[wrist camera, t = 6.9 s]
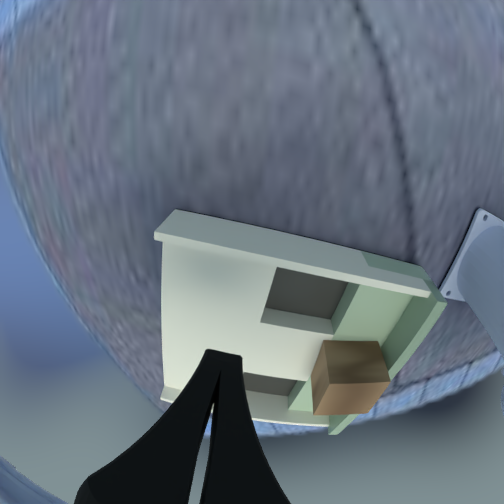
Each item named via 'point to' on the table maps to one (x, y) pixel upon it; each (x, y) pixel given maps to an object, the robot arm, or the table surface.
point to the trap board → (281, 309)
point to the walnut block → (348, 377)
